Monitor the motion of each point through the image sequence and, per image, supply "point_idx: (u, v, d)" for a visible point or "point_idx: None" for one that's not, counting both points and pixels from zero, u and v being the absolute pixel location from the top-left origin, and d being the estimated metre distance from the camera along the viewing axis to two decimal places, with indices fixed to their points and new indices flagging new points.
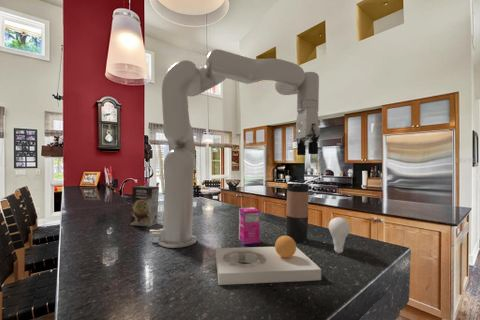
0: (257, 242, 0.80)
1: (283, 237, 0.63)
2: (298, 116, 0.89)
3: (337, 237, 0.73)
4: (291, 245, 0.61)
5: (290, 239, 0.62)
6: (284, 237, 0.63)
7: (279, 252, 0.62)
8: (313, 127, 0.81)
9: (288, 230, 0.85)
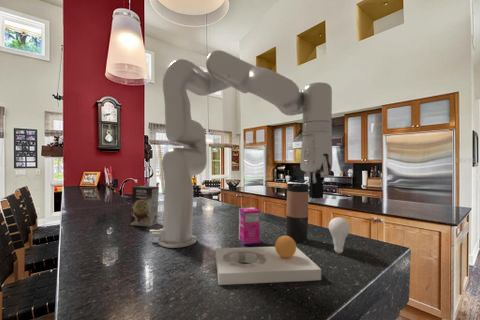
0: (257, 242, 0.80)
1: (283, 237, 0.63)
2: (304, 141, 0.67)
3: (337, 237, 0.73)
4: (291, 245, 0.61)
5: (290, 239, 0.62)
6: (284, 237, 0.63)
7: (279, 252, 0.62)
8: (321, 165, 0.61)
9: (288, 230, 0.85)
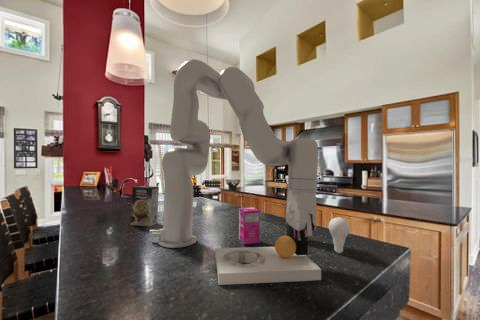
0: (257, 242, 0.80)
1: (283, 237, 0.63)
2: (289, 195, 0.66)
3: (337, 237, 0.73)
4: (291, 245, 0.61)
5: (290, 239, 0.62)
6: (284, 237, 0.63)
7: (279, 252, 0.62)
8: (306, 225, 0.60)
9: (288, 230, 0.85)
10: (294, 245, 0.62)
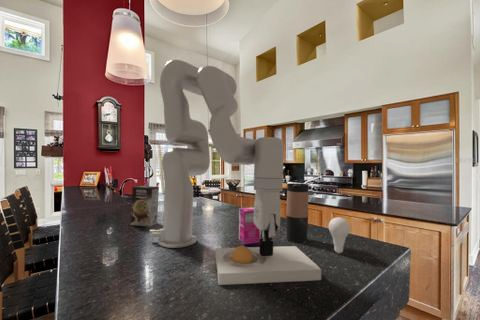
0: (257, 242, 0.80)
1: None
2: (256, 195, 0.64)
3: (337, 237, 0.73)
4: (247, 263, 0.59)
5: (251, 262, 0.61)
6: None
7: (239, 250, 0.60)
8: (269, 225, 0.59)
9: (288, 230, 0.85)
10: None
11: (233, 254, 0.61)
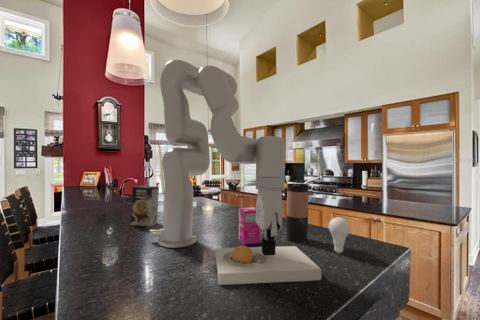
0: (257, 242, 0.80)
1: (252, 254, 0.62)
2: (258, 194, 0.64)
3: (337, 237, 0.73)
4: (247, 261, 0.60)
5: (251, 261, 0.61)
6: (252, 255, 0.62)
7: (239, 248, 0.61)
8: (271, 224, 0.58)
9: (288, 230, 0.85)
10: None
11: (234, 252, 0.61)
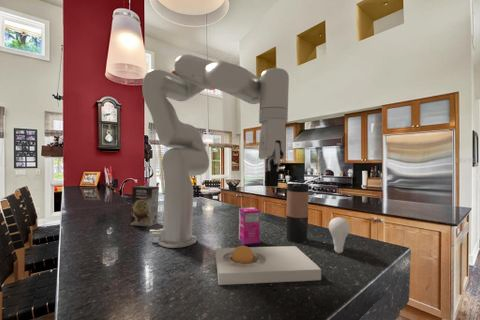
0: (257, 242, 0.80)
1: (252, 254, 0.62)
2: (261, 129, 0.65)
3: (337, 237, 0.73)
4: (248, 262, 0.60)
5: (251, 261, 0.61)
6: None
7: (240, 248, 0.61)
8: (274, 152, 0.59)
9: (288, 230, 0.85)
10: None
11: (234, 252, 0.61)
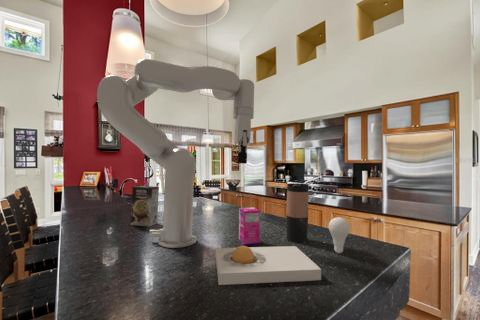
0: (257, 242, 0.80)
1: (253, 255, 0.62)
2: None
3: (337, 237, 0.73)
4: (248, 263, 0.60)
5: None
6: (253, 256, 0.62)
7: (241, 249, 0.61)
8: (242, 138, 0.85)
9: (288, 230, 0.85)
10: None
11: (235, 252, 0.61)
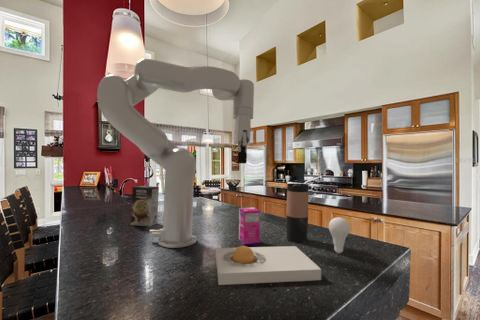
0: (257, 242, 0.80)
1: (253, 255, 0.62)
2: (235, 122, 0.91)
3: (337, 237, 0.73)
4: (248, 263, 0.60)
5: None
6: (253, 256, 0.62)
7: (241, 249, 0.61)
8: (242, 138, 0.85)
9: (288, 230, 0.85)
10: None
11: (235, 252, 0.61)
